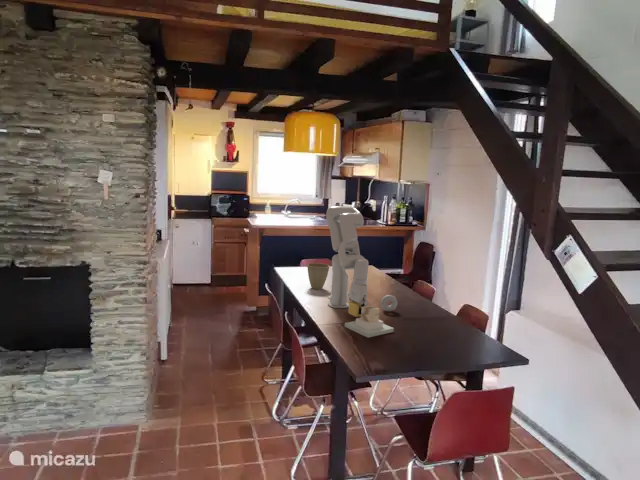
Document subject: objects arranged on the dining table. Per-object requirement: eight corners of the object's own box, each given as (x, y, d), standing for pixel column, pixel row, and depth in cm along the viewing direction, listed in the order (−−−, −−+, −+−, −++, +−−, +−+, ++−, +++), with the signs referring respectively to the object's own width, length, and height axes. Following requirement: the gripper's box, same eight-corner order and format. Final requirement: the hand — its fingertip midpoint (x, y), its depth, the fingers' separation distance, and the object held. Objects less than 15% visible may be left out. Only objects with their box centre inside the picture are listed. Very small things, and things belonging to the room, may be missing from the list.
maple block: (360, 318, 252) (361, 306, 251) (370, 317, 256) (371, 305, 255) (369, 322, 247) (370, 310, 246) (378, 320, 250) (379, 308, 249)
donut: (380, 312, 283) (382, 295, 281) (379, 310, 286) (380, 293, 284) (397, 312, 284) (398, 295, 282) (395, 310, 287) (397, 294, 286)
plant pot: (327, 291, 320) (329, 268, 317) (305, 290, 320) (306, 266, 317) (328, 286, 335) (329, 263, 332) (306, 284, 335) (307, 262, 332)
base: (344, 326, 253) (345, 317, 253) (369, 321, 264) (370, 312, 263) (367, 337, 239) (368, 328, 238) (393, 331, 250) (394, 322, 249)
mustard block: (348, 312, 269) (349, 301, 268) (357, 311, 273) (358, 300, 272) (355, 316, 264) (357, 305, 263) (364, 315, 268) (365, 303, 267)
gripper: (344, 277, 269) (341, 307, 273) (365, 286, 256) (361, 318, 259) (354, 276, 274) (351, 306, 277) (375, 284, 260) (372, 316, 264)
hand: (356, 311), depth 268 cm, fingers closed on mustard block, 6 cm apart
